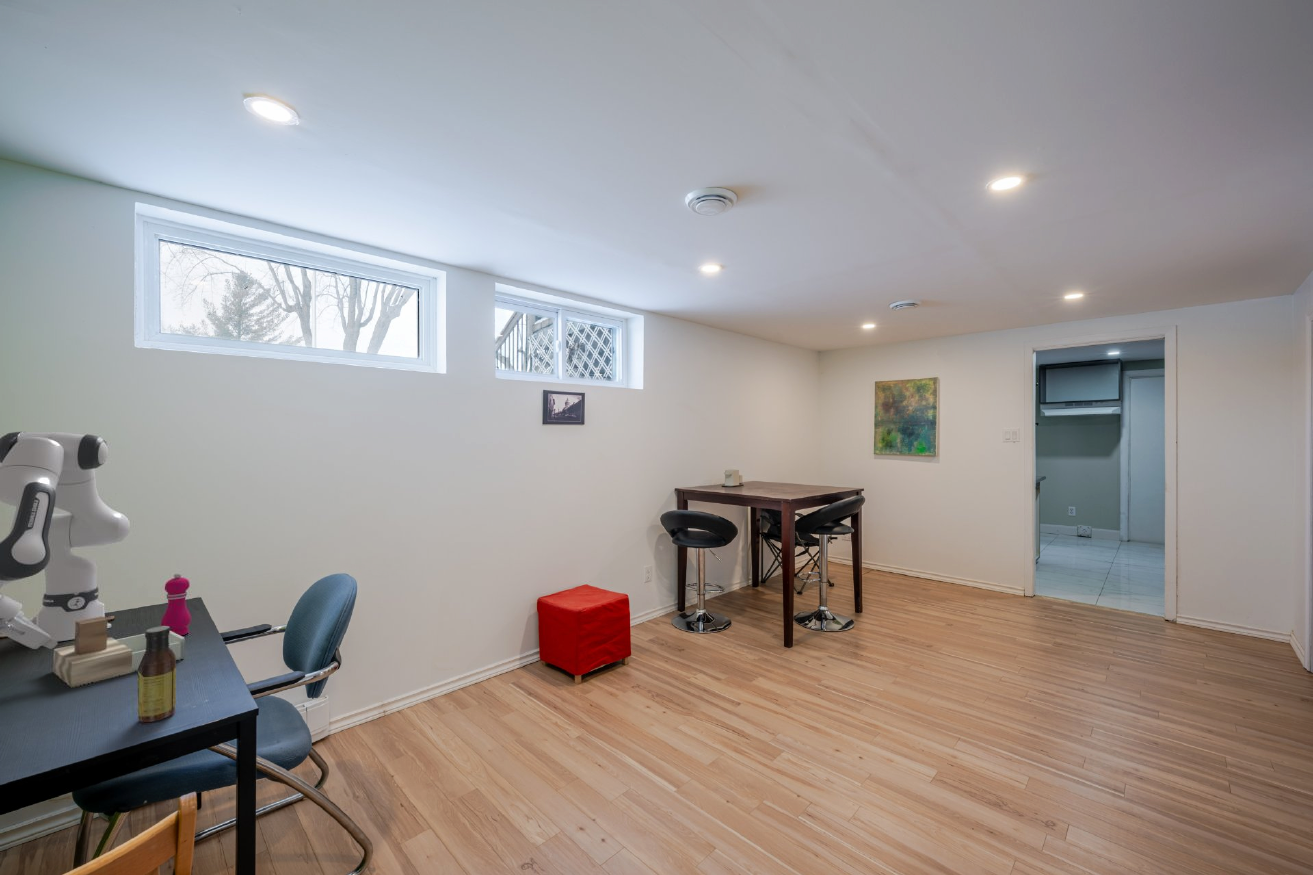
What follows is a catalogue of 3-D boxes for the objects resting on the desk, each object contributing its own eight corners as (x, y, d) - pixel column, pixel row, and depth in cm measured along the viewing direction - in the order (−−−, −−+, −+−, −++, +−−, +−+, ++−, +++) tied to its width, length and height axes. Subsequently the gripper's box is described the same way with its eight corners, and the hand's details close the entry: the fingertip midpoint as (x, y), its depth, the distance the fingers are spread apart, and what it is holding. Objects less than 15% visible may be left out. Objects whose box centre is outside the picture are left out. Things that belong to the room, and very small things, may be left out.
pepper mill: (172, 640, 166) (174, 576, 167) (154, 638, 168) (156, 574, 168) (196, 632, 174) (198, 571, 174) (178, 630, 175) (180, 569, 176)
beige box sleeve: (53, 671, 142) (53, 649, 142) (110, 658, 152) (111, 637, 152) (71, 688, 133) (72, 663, 133) (131, 672, 142) (132, 650, 142)
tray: (110, 658, 152) (111, 637, 152) (161, 646, 161) (161, 626, 161) (131, 672, 142) (132, 650, 142) (184, 659, 151) (184, 637, 152)
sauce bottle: (153, 710, 121) (156, 623, 122) (183, 710, 122) (185, 622, 123) (127, 725, 115) (131, 633, 116) (158, 724, 115) (162, 632, 116)
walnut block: (74, 651, 141) (75, 620, 141) (100, 645, 145) (101, 616, 146) (79, 655, 138) (80, 624, 139) (106, 649, 143) (107, 619, 143)
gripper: (19, 612, 125) (78, 641, 133) (1, 599, 135) (56, 627, 144) (-12, 637, 121) (50, 665, 129) (-28, 621, 132) (30, 648, 140)
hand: (53, 645), depth 136 cm, fingers closed
